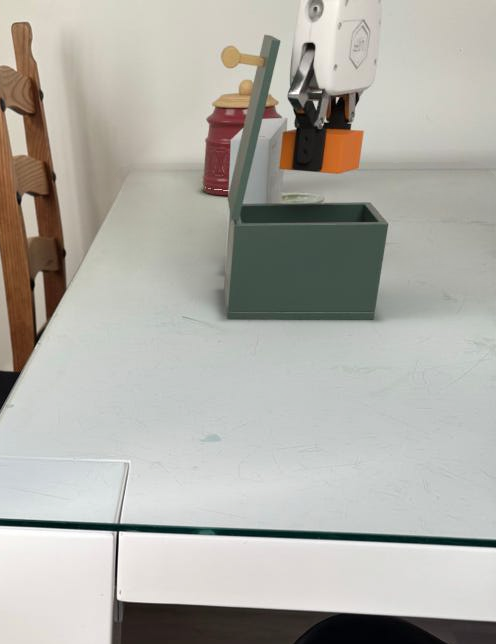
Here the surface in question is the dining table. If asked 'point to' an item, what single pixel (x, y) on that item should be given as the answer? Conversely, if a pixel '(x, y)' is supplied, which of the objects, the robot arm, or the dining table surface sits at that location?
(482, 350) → the dining table surface
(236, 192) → the bin lid
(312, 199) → the saucer
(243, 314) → the bin
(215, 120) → the kitchen canister
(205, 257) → the dining table surface
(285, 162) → the orange block
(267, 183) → the skincare box
